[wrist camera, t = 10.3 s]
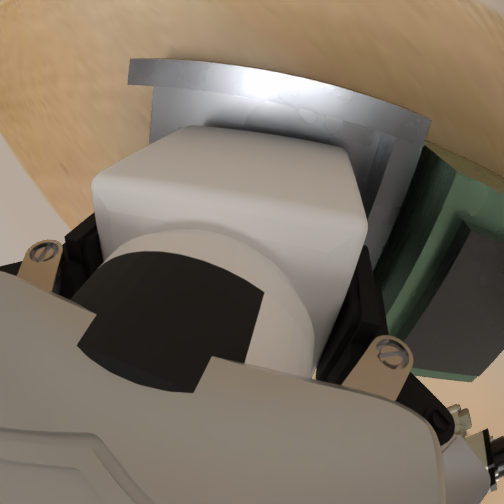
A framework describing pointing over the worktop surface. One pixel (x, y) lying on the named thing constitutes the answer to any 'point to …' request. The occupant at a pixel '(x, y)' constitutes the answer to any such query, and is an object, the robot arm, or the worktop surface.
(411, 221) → the grey and green bracket
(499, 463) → the pneumatic valve
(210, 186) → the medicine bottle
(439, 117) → the worktop surface
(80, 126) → the worktop surface
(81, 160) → the worktop surface
